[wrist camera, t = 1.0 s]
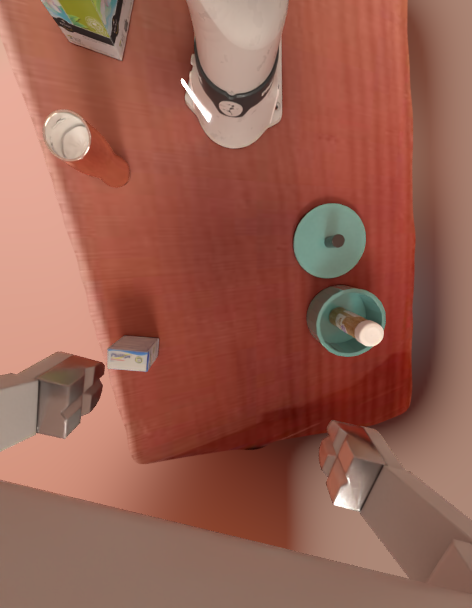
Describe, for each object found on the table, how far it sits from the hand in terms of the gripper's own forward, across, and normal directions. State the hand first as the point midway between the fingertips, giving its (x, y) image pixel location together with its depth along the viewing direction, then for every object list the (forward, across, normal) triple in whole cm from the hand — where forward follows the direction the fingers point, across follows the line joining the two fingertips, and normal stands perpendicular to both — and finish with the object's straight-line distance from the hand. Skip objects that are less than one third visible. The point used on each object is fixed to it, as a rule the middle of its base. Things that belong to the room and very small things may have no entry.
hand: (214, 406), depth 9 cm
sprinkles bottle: (+48, -24, +5) cm, 54 cm away
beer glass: (+45, +30, -13) cm, 56 cm away
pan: (+48, -24, +5) cm, 54 cm away
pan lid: (+48, -16, -10) cm, 52 cm away
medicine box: (+44, +18, +22) cm, 53 cm away
